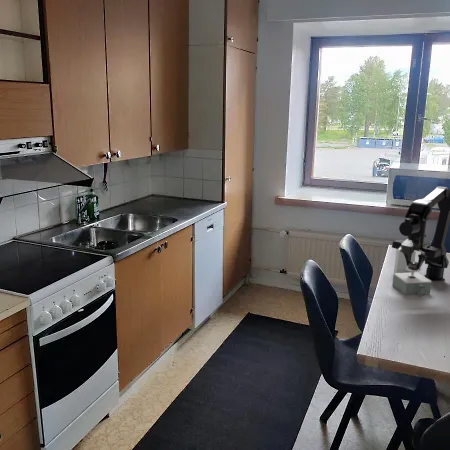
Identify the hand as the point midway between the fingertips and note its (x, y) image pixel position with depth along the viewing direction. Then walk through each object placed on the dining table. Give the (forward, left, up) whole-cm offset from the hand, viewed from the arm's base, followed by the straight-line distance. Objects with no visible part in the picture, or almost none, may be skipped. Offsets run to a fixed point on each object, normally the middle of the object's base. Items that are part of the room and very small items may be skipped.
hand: (413, 267), depth 198 cm
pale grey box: (0, +2, -10) cm, 10 cm away
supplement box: (-6, -17, -10) cm, 21 cm away
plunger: (0, 0, -6) cm, 6 cm away
